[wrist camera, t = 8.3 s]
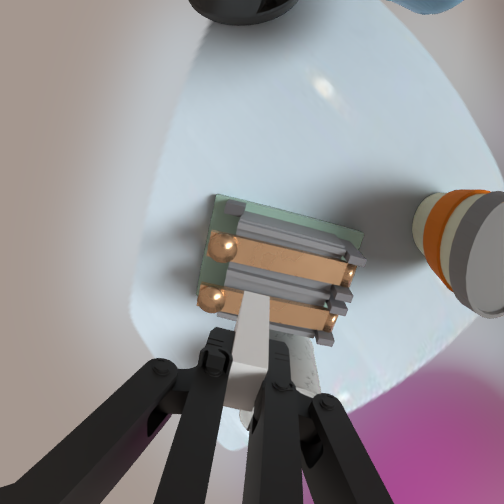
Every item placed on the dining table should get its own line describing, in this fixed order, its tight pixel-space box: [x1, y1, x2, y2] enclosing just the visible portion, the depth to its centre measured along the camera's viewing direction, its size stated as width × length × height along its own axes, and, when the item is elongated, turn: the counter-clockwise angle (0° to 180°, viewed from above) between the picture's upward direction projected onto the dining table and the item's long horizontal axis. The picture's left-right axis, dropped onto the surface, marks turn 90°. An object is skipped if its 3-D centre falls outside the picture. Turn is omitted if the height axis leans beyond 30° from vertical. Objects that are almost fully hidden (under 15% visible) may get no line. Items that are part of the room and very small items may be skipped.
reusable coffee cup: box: [412, 190, 504, 319], centre depth 27 cm, size 13×13×15 cm
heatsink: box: [196, 194, 367, 347], centre depth 33 cm, size 13×18×8 cm
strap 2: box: [197, 281, 338, 333], centre depth 31 cm, size 3×15×2 cm, turn 76°
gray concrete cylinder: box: [239, 329, 321, 431], centre depth 35 cm, size 10×10×12 cm
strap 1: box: [206, 229, 357, 288], centre depth 30 cm, size 3×15×2 cm, turn 76°
